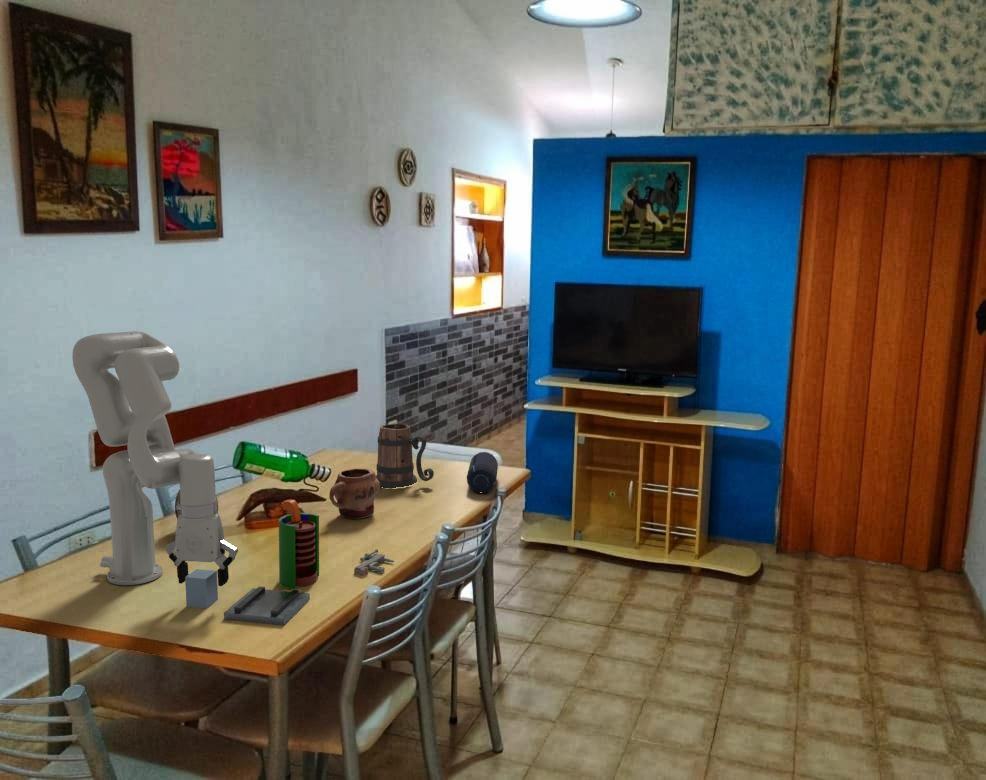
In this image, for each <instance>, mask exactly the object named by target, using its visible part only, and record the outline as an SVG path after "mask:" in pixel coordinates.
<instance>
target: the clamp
mask: <svg viewBox="0 0 986 780" xmlns="http://www.w3.org/2000/svg"><path fill="white" fill-rule="evenodd" d="M374 554H377V555H374ZM385 555H386V554H383V553H379V550H378V548H377V549H375V550H373V551H372V552H371V553H365V554H364V556H363V557H360V558H359V561H361V562H363V561H364V560H365V559H368V560H366V561H364V562H363V563H360V564H359V565H356V566H355V567H354V569H353V570H354V571H353V573H354V575H357V576H361V577H365V576H366V575H369V571H374V572H375V573H380V574H383V573H385V571H386V570H385V568H386V567H382V566H379V565H381V564H382V563H384V562H387V563H395V560H394V559H393V560H392V559H390V558H387V557H386V556H385Z"/></svg>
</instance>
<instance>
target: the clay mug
mask: <svg viewBox="0 0 986 780" xmlns="http://www.w3.org/2000/svg"><path fill="white" fill-rule="evenodd" d="M376 475H377V474H376V472H375V470H373V469H370V468H351V469H346V470H343V471H340V472H339V473H338V474H337V478H336V480H335V482H334V484H333V485H332V486H331V488H330V490H329V498H328V499H329V500H330V501H331V503H332V505H333V506H334V507H336V508H338V512H339V514H340V516H341V517H342V518H344V519H350V520H359V519H360V520H361V519H365V518H368V517H371V516H372V515H374V513H375V505H374V504H375V498H376V496H377V494H378V493H379V490H380V489H381V488H380V483H379V481H378V480H377V477H376Z"/></svg>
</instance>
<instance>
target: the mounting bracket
mask: <svg viewBox="0 0 986 780" xmlns="http://www.w3.org/2000/svg"><path fill="white" fill-rule="evenodd" d="M310 599H311V597H310V593H309V592H301V591H300V589H291V591H288V590H278V589H266V587H265V586H258V587H257V588H255V587H253V588H251V589H250V590H249V591H248V592H246V594H244V595H243V596H242V597H240V598H239V599H238V600H236V602H235V603H234V604H232V605H231V606H230V607H228V609H227V610H225V611H224V612H223V619H224V620H228V621H229V620H230V621H239V622H240V621H241V622H248V623H256V624H257V623H261V624H268V625H269V624H270V625H280V626H285V625H286V624H287V623H288V622H289V621H290V620H291V619H292V618H293V617H294V616H295V615H296V614H297V613H298V612H299V611H300V610H301V609H302V608H303V607H304V606H305V605H306V604H307V603H308V602H309V601H310Z"/></svg>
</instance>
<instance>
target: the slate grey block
mask: <svg viewBox="0 0 986 780" xmlns="http://www.w3.org/2000/svg"><path fill="white" fill-rule="evenodd" d="M188 574H189V575H187V576H186V577H185V582H184V583H185V584H184V585H185V601H186V602H185V603H186V605H185V606H186V607H189V608H190V607H191V608H197V609H198V608H200V609H208V608H209V607H211V606H212V605H214V604H215V602H217V601H218V600H219V593H218V592H219V591H218V590H219V589H218V587H219V586H218V573H217V570H213V569H200V568H196V569H195V570H193V571H192V572H190V573H188Z"/></svg>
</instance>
